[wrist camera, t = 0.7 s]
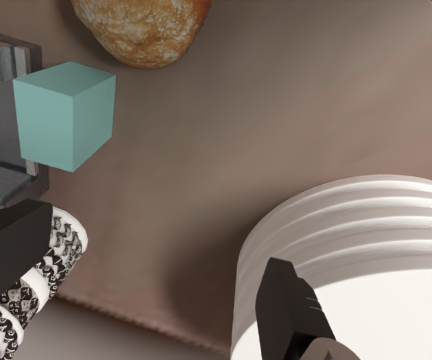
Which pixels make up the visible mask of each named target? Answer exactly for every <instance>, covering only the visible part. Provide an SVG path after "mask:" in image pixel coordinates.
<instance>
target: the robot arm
mask: <svg viewBox="0 0 432 360" xmlns="http://www.w3.org/2000/svg"><path fill="white" fill-rule="evenodd" d="M52 216H53V206H52V204H51V203H48V202H44V201H39V200H35V199H31V198H27V199H24V200H22V201H20V202H18V203H16V204H14V205H12V206H11V207H9V208H8V207H7V208H3V209H0V296H1V295H2V294H3V293H4V292H5V291H6V290H8V289H9V288H10V287H11V286H12V285H13V284H14V283H16V282H17V281H18V280H19V279H20V278H21V277H22V276H24V275H25V274H26V273H27V272H28V271H29V270H30V269H32V268H33V267H34V266H35V265H36V264H37V263H38V262H39V261H41V260H42V258H43V257H44V256H45V254H46V252H47V250H48V248H49V244H50V236H51V226H52ZM255 313H256V320H257V327H258V334H259V342H260V349H261V356H262V360H360V358H359V357H358V356H357V355H356V354H355V353H354V352H353V351H352V350H351V349H349V348H348V347H346V346H345V345H343V344H342V343H340V342H338V341H337V340H336V338H335V336H334V334H333V331H332V329H331V327H330V325H329V323H328V320H327V318H326V316H325V314H324V312H323V311H322V307H321V305H320V303H319V302H318V298H317V296H316V294H315V292H314V290H313V288H312V287H311V286H310V285H309V284H308V283H307V282H306V281H305V280H304V279H303V278H299V277H298V276H297V274H296V271H295V269H294V266H293V264H292V262H291V261H286V260H282V259H278V258H274V257H270V258H269V260H268V262H267V265H266V268H265V271H264V274H263V277H262V280H261V283H260V286H259V289H258V292H257V296H256V302H255Z"/></svg>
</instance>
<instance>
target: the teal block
mask: <svg viewBox="0 0 432 360" xmlns="http://www.w3.org/2000/svg"><path fill="white" fill-rule="evenodd" d="M115 84H116V75H115V74H112V73H109V72H105V71H102V70H99V69H95V68H92V67H89V66H85V65H82V64H79V63H75V62H72V61H69V62H66V63H63V64H60V65H56V66H53V67H50V68H47V69H44V70H41V71H37V72H34V73H31V74H28V75H25V76H21V77H18V78H15V79H13V87H14V96H15V105H16V114H17V123H18V132H19V141H20V150H21V158H24V159H27V160H31V161H34V162H38V163H41V164H45V165H48V166H52V167H55V168H59V169H62V170H66V171H69V172H74V171H75V170H76V169H77V168H78V167H79V166H81V165H82V164H83V163H84V162H85V161H86V160H87V159H88V158H89V157H90V156H91V155H93V154H94V153H95V152H96V151H97V150H98V149H99V148H100V147H101V146H102V145H103V144H104V143H106V142H107V141H108V140H109V139H110V138H111V137H112V124H113V111H114V97H115Z"/></svg>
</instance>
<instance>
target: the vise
mask: <svg viewBox="0 0 432 360" xmlns="http://www.w3.org/2000/svg"><path fill="white" fill-rule="evenodd" d="M0 41H1V42H4V43H7V44H11V45H14V51H15V61H16V70H17V78H18V77H21V76H25V75H28V74H31V73H34V72H37V71H41V70H42V54H41V46H38V45H35V44H32V43H28V42H25V41H22V40H18V39H15V38H12V37H8V36H5V35H2V34H0ZM13 79H15V78H13ZM13 79H10V80H7V81H4V82H1V83H0V209H3V208H7V207H8V208H9V207H11V206H12V205H14V204H16V203H18V202H20V201H22V200H24V199H27V198H31V199H35V200H37V199H38V198H39V197H40V196H42V195H43V194H44V193H45V192H46V191H47V190H48V189H49V177H48V165H45V164H41V163H38V162H34V161H31V160H27V159H24V158H21V150H20V141H19V132H18V123H17V114H16V105H15V96H14V87H13Z"/></svg>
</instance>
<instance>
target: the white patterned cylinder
mask: <svg viewBox="0 0 432 360" xmlns="http://www.w3.org/2000/svg"><path fill="white" fill-rule="evenodd" d="M87 244H88V238H87V234H86V230H85V229H84V228H83V226H82V225H81V224H80V222H79V221H78V220H77V219H76V218H75V217H73V216H72V215H70V214H69V213H68V212H66V211H64V210H62V209H59V208H57V207H54V206H53V216H52V226H51V236H50V244H49V248H48V250H47V252H46V254H45V256H44V257H43V258H42V260H41V261H39V262H38V263H37V264H36V265H35V266H34V267H33V268H32V269H30V270H29V271H28V272H27V273H26V274H25V275H24V276H22V277H21V278H20V279H19V280H18V281H17V282H16V283H14V284H13V285H12V286H11V287H10V288H9V289H8V290H6V291H5V292H4V293H3V294H2V295H1V296H0V360H10V359H12V357H13V355H14V352H15V351H16V350H17V348H18V345H19V344H20V343H21V342H22V341H23V336H24V329H25V327H26V326H27V325H28V323H29V322H30V320H31V319H32V317H33V316H34V315H35V314H36V313H37V312H39V311H40V310H41V308H42V307H43V305H44V304H45V303H46V301H47V300H48V299H50V298H52V297H53V295H54V294H55V293H56V292H57V290H58V287H59V286H60V285H61V284H62V282H63V281H64V280H65V278H66V275H68V274H69V273H70V272H71V270H72V269H73V268H74V266H75V264H76V263H77V261H78V260H79V259H80V257H81V256H82V253H83V252H84V251H85V250H86V247H87Z"/></svg>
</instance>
